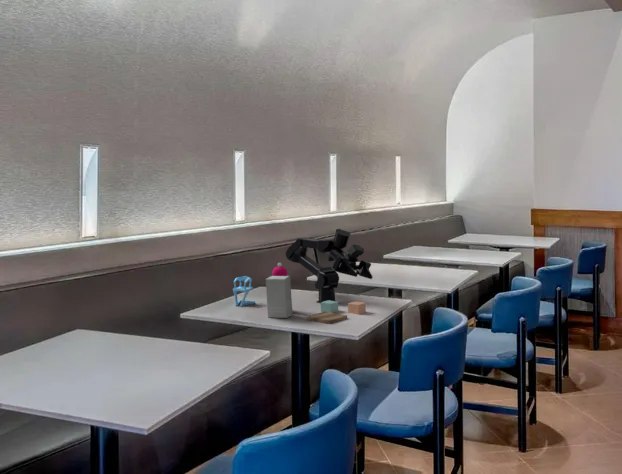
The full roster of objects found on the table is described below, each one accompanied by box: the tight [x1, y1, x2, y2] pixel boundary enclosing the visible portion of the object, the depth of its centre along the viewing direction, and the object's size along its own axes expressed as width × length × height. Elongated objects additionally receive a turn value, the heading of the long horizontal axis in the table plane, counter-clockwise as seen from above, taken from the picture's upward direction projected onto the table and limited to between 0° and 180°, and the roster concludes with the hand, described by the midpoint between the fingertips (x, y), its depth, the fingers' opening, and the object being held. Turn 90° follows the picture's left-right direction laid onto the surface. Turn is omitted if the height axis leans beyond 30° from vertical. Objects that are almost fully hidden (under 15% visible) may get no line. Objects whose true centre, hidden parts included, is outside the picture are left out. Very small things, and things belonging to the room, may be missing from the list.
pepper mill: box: [271, 262, 288, 276], centre depth 244 cm, size 7×7×20 cm
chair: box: [232, 275, 256, 307], centre depth 259 cm, size 8×8×12 cm
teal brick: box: [320, 300, 339, 313], centre depth 244 cm, size 5×5×4 cm
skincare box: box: [265, 275, 293, 319], centre depth 235 cm, size 8×7×16 cm
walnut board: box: [306, 311, 348, 325], centre depth 231 cm, size 11×11×1 cm
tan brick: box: [347, 301, 367, 315], centre depth 241 cm, size 5×5×4 cm
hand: (364, 276), depth 241 cm, fingers open, 9 cm apart
